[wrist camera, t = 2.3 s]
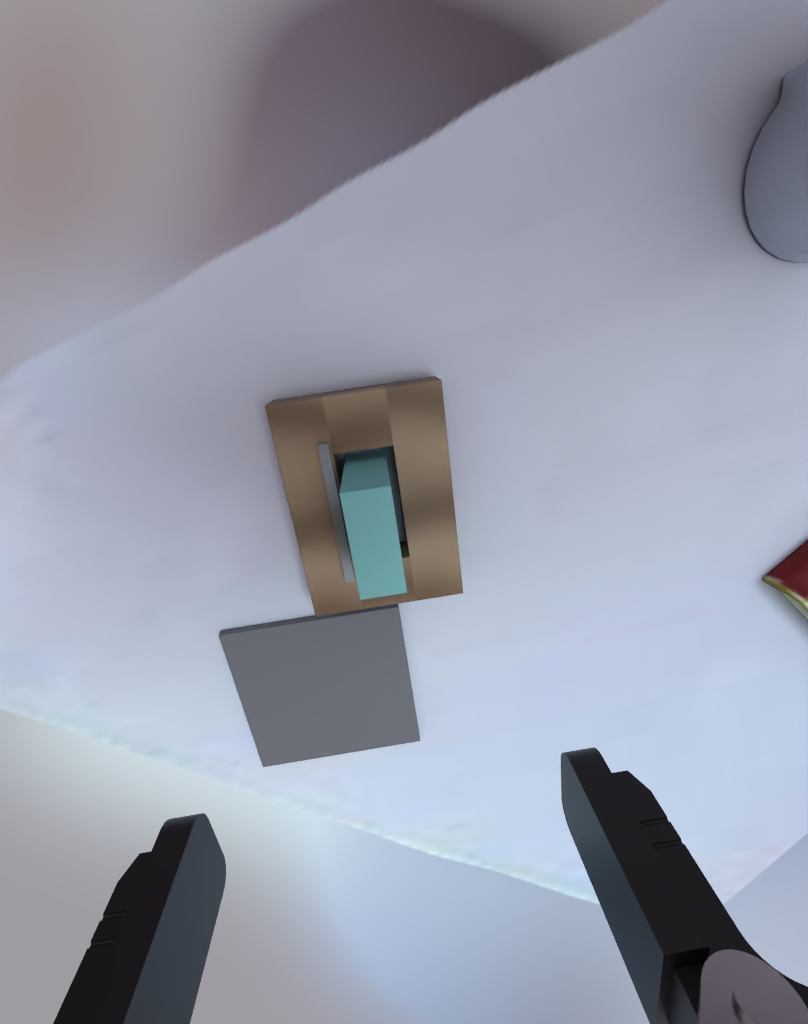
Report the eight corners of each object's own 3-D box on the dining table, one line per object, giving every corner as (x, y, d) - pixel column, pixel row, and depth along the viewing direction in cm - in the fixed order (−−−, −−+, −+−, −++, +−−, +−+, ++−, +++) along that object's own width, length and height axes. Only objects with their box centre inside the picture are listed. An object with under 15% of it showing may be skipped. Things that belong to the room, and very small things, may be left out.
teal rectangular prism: (345, 454, 30) (339, 493, 22) (384, 448, 30) (390, 485, 22) (361, 538, 32) (360, 600, 24) (397, 532, 32) (407, 592, 24)
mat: (221, 630, 33) (218, 635, 33) (397, 602, 34) (398, 606, 33) (264, 760, 38) (263, 767, 38) (419, 734, 38) (420, 740, 38)
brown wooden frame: (273, 400, 28) (262, 407, 25) (435, 376, 28) (442, 380, 25) (319, 597, 33) (314, 621, 30) (456, 575, 33) (464, 597, 30)
